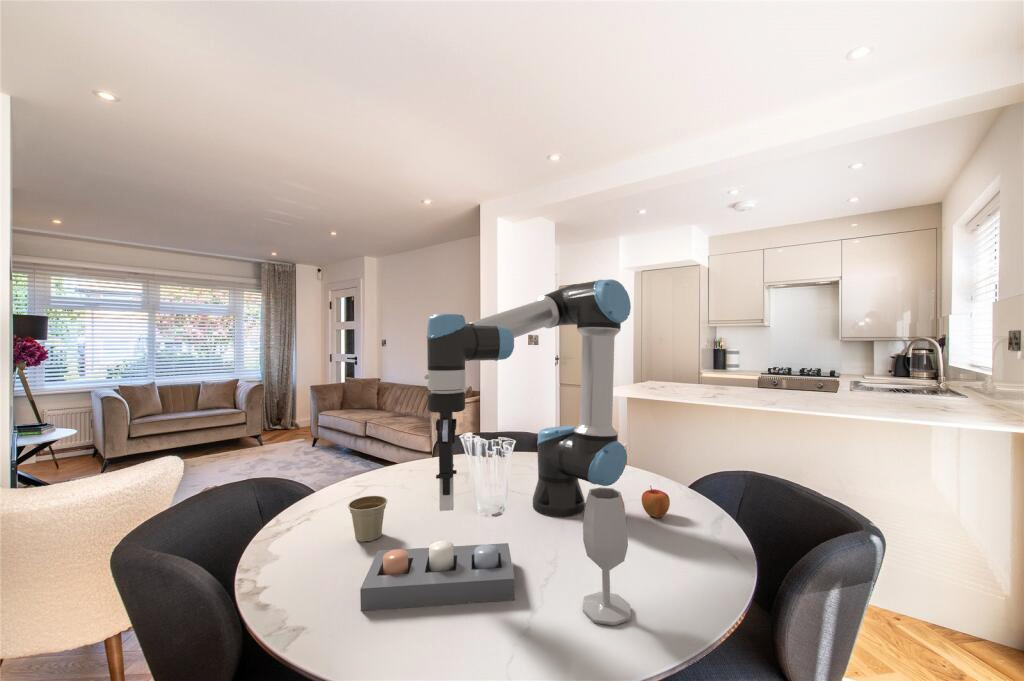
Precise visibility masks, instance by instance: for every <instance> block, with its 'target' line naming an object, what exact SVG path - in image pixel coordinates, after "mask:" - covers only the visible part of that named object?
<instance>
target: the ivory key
mask: <svg viewBox="0 0 1024 681" xmlns="http://www.w3.org/2000/svg"><path fill="white" fill-rule="evenodd" d="M453 546H454V543H453V542H452V541H449V540H438V541H434V542H432V543H431V544H430V545H429V547H428V548H429V568H430V570H431V571H433V572H444V571H449V570H451V569H452V568H453V566H454V553H453Z"/></svg>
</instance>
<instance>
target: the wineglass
mask: <svg viewBox="0 0 1024 681" xmlns="http://www.w3.org/2000/svg"><path fill="white" fill-rule="evenodd" d="M625 507H626V506H625V502H624V499H623V496H622V493H621V491H620V490H619V491H618V490H617V489H614V488H613V487H594V488H590V489H589V490H588V493H587V497H586V501H585V509H584V514H583V515H584V516H583V521H582V522H583V524H582V541H583V546H584V549H585V552H586V556H587V557H588V558H589V559H590V560H592V562H593V563H594V564H595V565H597V567H599V568H600V569H601V573H602V575H601V576H602V578H601V579H602V581H601V582H602V583H601V585H602V586H601V587H602V590H601V591H597V592H594V593H591V594H588V595H585V596H583V602H582V609H581V610H582V612H583V613H584V614H585V615H586V616H587V618H589V619H590V620H591V622H593V623H594V624H600V625H606V626H607V625H608V626H617V625H621V624H623V623H626V622H629V621H631V619H632V615H631V613H632V612H631V604H630V603H629V602H628V601H627V600H626V599H624V598H623V597H622V596H621V595H619V594H618V593H611V582H610V581H611V575H610V573H611V572H610V571H612V570H613V569H614V568H616V567H618V566H619V565H620V564H621V565H622V563H624V562H625V559H626V556H627V552H628V546H629V536H628V532H629V530H628V529H629V528H628V519H627V513H626V508H625Z"/></svg>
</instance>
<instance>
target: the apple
mask: <svg viewBox="0 0 1024 681" xmlns="http://www.w3.org/2000/svg"><path fill="white" fill-rule="evenodd" d="M649 487H650V489H648V490H645V491H644V492H643V493H642V495H641V504H642V508H643V509H644V511H645V512H646V514H647V515H649V516H650V517H651V516H652V517H655V518H656V519H659V518H661V517H662V516H665V515H666V514H667V513H668V511H669V508H670V504H671V502H670V501H671V500H670V497H669V495H668V494H667V493H666V492H664V491H662V490H660V489H656V488H655V489H653V488H652V485H649Z"/></svg>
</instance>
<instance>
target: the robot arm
mask: <svg viewBox="0 0 1024 681" xmlns="http://www.w3.org/2000/svg"><path fill="white" fill-rule="evenodd" d="M625 288H626V287H625V286H624V285H623V284H622V283H621V282H619V281H618V280H615V279H598V280H593V281H587V282H583V283H575V284H571V285H566V286H564V287H561V288H558V289H557V290H553V291H551V292H549V293H546V294H542V295H541V296H539V297H537V298H536V299H535V300H534V302H530V303H527V304H523V305H521V306H517V307H515V308H511V309H509V310H505V311H501V312H498V313H495V314H492V315H489V316H487V317H486V316H485V317H483V318H479V319H476V320H473V321H471V322H468V323H467V322H466V317H465V316H464V315H463V314H458V313H435V314H432V315H430V316H429V317H428V319H427V326H426V327H427V328H426V329H427V330H426V331H427V332H426V341H427V343H426V344H427V352H426V354H427V374H424V380H428V381H427V390H429V391H430V392H428V393H427V401H426V402H427V403H426V404H427V411H429V412H430V413H435V414H436V413H437V414H439V419H438V418H436V421H435V431H436V433H437V434H436V441H437V442H436V443H437V444H438V468H439V469H438V474H436V476H435V479H436V480H437V479H439V511H440V512H442V511H443V512H446V511H448V512H449V511H454V486H455V485H454V484H455V483H454V475H457V474H458V472H457V469H454V467H455V464H454V444H455V442H456V430H457V418H454V416H453V414H454V413H461V412H463V411H464V410H465V409H466V393H465V392H464V391H463V390H465V389H466V362H470V361H495V362H497V361H499V360H500V361H503V360H507V359H508V358H509V357H511V356H512V354H513V352H514V349H515V338H518V337H521V336H524V335H526V334H530V333H531V332H534V331H537V330H540V329H543V328H545V329H553V328H555V327H558V326H559V327H560V326H573V325H574V326H575V325H576V330H577V331H578V332H579V334H580V335H581V337H582V338H581V340H582V341H581V368H580V369H581V370H580V396H579V397H580V399H579V400H580V402H579V403H580V405H579V424H577V426H574V425H562V426H560V425H559V426H551V427H546V428H542V429H540V430H539V432H538V434H537V443H536V444H537V447H536V448H537V474H538V476H537V477H538V478H537V482H536V486H535V488H534V489H535V490H534V494H533V495H532V508H533V509H534V511H536V512H537V513H539V514H542V515H545V516H549V517H572V516H575V515H578V514H581V513H582V512H584V511H585V505H586V501H585V496H584V494H583V490H582V487H581V485H580V482H579V480H582V481H584V482H588V483H590V484H592V485H598V486H602V487H608V486H611V485H614V484H615V483H616V482H618V481H619V479H620V478H621V476H622V475H623V472H624V471H625V469H626V464H627V458H628V456H627V455H628V454H627V449H626V448H625V446H624V445H623V444H622V443H621V442H620V441H619V440H618V438H619V437H618V436H619V435H618V434H619V433H618V431H617V430H616V429H615V428H614V426H613V408H614V406H613V404H614V403H613V402H614V373H615V371H614V370H615V368H614V366H615V337H616V336H617V335H618V334H619V333H620V332H621V326H622V325H621V324H623V323H624V322H626V321H627V320H628V318H629V316H630V315H631V314H630V313H631V306H632V305H631V304H632V303H631V299H630V295H629V293H628V291H627V289H625Z"/></svg>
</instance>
